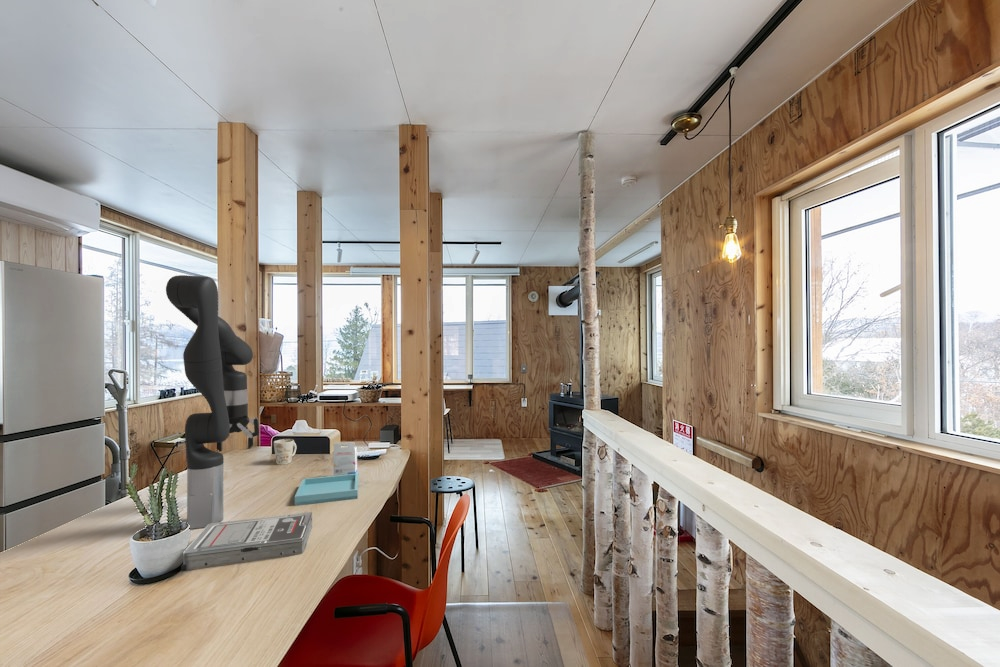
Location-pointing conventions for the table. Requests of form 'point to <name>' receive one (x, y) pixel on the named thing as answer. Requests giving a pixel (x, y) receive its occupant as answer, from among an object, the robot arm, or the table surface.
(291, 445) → the mug
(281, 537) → the hard drive
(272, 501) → the table surface
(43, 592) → the table surface
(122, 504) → the table surface
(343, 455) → the ink box
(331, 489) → the tray
